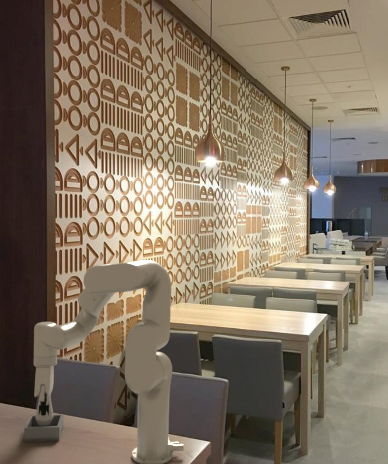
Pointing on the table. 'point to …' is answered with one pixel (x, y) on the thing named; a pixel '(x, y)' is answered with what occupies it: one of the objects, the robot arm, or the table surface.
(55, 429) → the tray
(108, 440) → the table surface
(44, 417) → the salt shaker
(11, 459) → the table surface
